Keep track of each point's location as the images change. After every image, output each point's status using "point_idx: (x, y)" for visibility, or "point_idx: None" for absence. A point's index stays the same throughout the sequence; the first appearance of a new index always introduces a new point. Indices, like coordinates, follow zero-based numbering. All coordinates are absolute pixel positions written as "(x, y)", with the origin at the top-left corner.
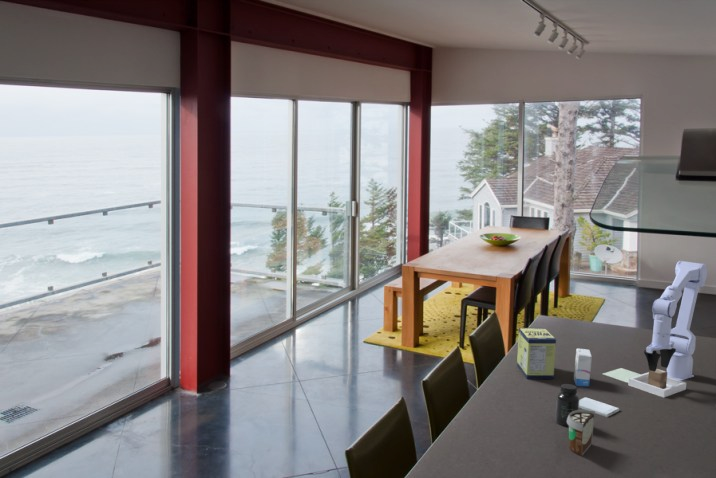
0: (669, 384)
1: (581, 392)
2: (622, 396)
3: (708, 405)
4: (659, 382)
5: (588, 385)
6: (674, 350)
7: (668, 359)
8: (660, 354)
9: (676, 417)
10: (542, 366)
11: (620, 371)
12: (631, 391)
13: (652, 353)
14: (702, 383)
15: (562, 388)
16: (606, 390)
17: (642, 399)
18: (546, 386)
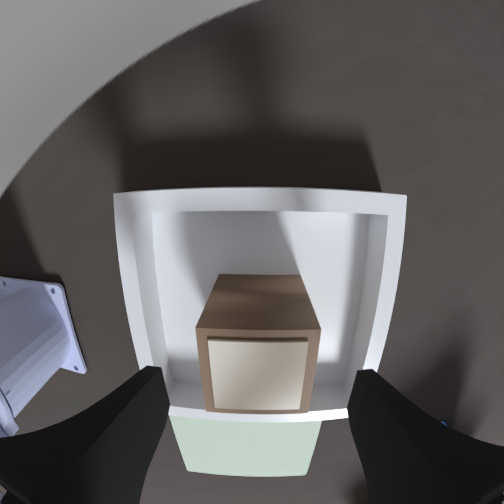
0: (156, 289)
1: (489, 392)
2: (471, 322)
3: (249, 6)
4: (308, 297)
5: (444, 423)
6: (5, 472)
7: (119, 421)
8: (486, 496)
9: (489, 69)
10: None
11: (222, 464)
12: (401, 345)
13: (500, 501)
14: (13, 213)
15: None
16: (445, 385)
17: (457, 256)
18: (480, 435)
